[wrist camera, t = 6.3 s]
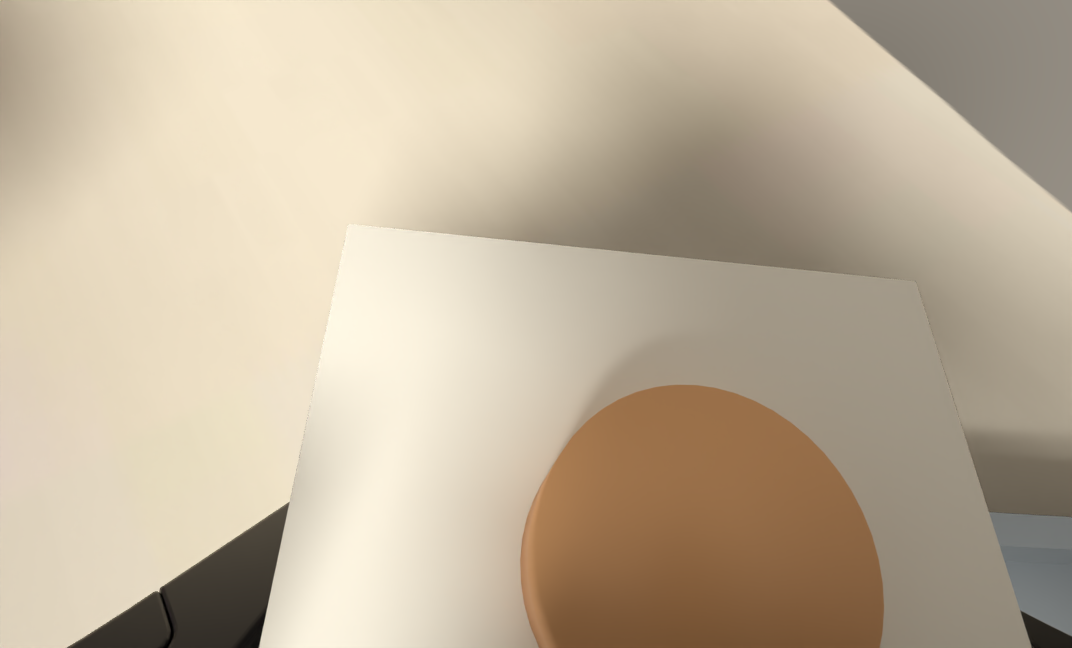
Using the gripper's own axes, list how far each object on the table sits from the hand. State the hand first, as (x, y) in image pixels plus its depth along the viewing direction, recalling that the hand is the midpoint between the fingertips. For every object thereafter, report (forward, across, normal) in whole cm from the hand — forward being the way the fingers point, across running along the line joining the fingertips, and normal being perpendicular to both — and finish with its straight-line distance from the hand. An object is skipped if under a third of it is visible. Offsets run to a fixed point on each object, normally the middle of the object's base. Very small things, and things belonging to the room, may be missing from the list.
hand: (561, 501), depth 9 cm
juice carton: (+4, 0, +6) cm, 7 cm away
